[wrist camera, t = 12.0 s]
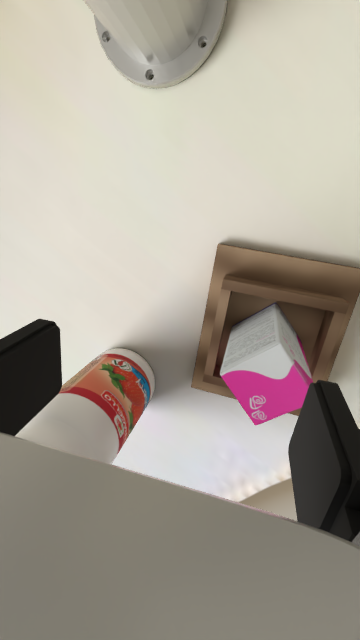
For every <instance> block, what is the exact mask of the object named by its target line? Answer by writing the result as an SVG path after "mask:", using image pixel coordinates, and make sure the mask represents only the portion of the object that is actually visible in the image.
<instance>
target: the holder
mask: <svg viewBox="0 0 360 640" xmlns="http://www.w3.org/2000/svg"><path fill="white" fill-rule="evenodd" d="M359 293H360V268H355V267H350V266H344V265H338V264H333V263H327V262H321V261H316V260H310V259H304V258H298V257H293V256H287V255H281V254H276V253H270V252H264V251H258V250H253V249H247V248H241V247H236V246H230V245H224V244H218V246H217V251H216V257H215V262H214V267H213V273H212V278H211V283H210V289H209V294H208V299H207V305H206V310H205V315H204V321H203V326H202V331H201V337H200V342H199V347H198V353H197V358H196V363H195V369H194V374H193V379H192V385H191V387H192V388H196V389H200V390H204V391H207V392H211V393H215V394H219V395H222V396H226V397H230V398H233V399H237V398H236V397H235V396H234V394H233V393H232V391H231V390H230V388H229V387H228V386H227V384H226V383H225V381H224V380H223V378H222V377H221V376H220V370H221V367H222V363H223V359H224V355H225V352H226V348H227V344H228V340H229V336H230V333H231V329H232V326H233V325H235V324H237V323H239V322H240V321H242V320H244V319H246V318H248V317H250V316H251V315H253V314H255V313H257V312H259V311H260V310H262V309H264V308H266V307H267V306H269V305H271V304H273V303H275V302H277V304H278V306H279V307H280V308H281V310H282V311H283V313H284V315H285V316H286V318H287V319H288V321H289V322H290V324H291V325H292V327H293V329H294V330H295V332H296V333H297V335H298V337H299V338H300V340H301V342H302V346H303V350H304V353H305V356H306V360H307V363H308V366H309V370H310V373H311V376H312V380H313V383H316V382H317V380H323V381H327V380H328V377H329V375H330V372H331V369H332V366H333V364H334V361H335V358H336V356H337V353H338V350H339V347H340V345H341V342H342V339H343V336H344V334H345V331H346V328H347V326H348V323H349V320H350V317H351V315H352V312H353V309H354V306H355V304H356V301H357V298H358V296H359ZM300 411H301V408H299V409H296V410H294V411H291V412H288V413H290V414H293V415H297V416H299V414H300Z"/></svg>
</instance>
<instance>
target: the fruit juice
mask: <svg viewBox="0 0 360 640" xmlns="http://www.w3.org/2000/svg"><path fill="white" fill-rule="evenodd" d="M154 388H155V379H154V374H153V371H152V369H151V367H150V366H149V364H148V363H147V362H146V360H145V359H144V358H142V357H141V356H140V355H139V354H137V353H135V352H133V351H131V350H128V349H123V348H115V349H110V350H107V351H105V352H103V353H101V354H100V355H98V356H97V357H96V358H95V359H94V360H92V361H91V362H90V363H89V364H88V365H86V366H85V367H84V368H83V369H82V370H80V371H79V372H78V373H77V374H76V375H75V376H73V377H72V378H71V379H70V380H69V381H67V382H66V383H65V384H64V385H63V386H62V387H61V390H60V392H59V394H58V395H57V396H56V397H55V398H54V399H53V400H52V401H50V402H49V403H48V404H47V405H46V406H45V407H44V408H43V409H42V410H41V411H40V412H39V413H38V414H37V415H36V416H35V417H34V418H33V419H32V420H31V421H30V422H29V423H28V424H27V425H26V426H25V427H24V428H23V429H22V430H21V431H20V432H19V433H18V434H16V435H15V437H19V438H22V439H26V440H29V441H33V442H36V443H40V444H43V445H47V446H50V447H53V448H57V449H60V450H64V451H67V452H70V453H74V454H77V455H81V456H84V457H88V458H91V459H94V460H98V461H101V462H104V463H108V464H112V463H113V461H114V460H115V458H116V456H117V454H118V453H119V451H120V449H121V448H122V446H123V444H124V443H125V441H126V439H127V438H128V436H129V434H130V433H131V431H132V430H133V428H134V426H135V425H136V423H137V421H138V420H139V418H140V416H141V415H142V413H143V411H144V410H145V408H146V406H147V405H148V403H149V402H150V400H151V398H152V395H153V393H154Z"/></svg>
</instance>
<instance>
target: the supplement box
mask: <svg viewBox="0 0 360 640" xmlns="http://www.w3.org/2000/svg"><path fill="white" fill-rule="evenodd" d="M220 376H221V377H222V378H223V380H224V381H225V383H226V384H227V386H228V387H229V388H230V390H231V391H232V393H233V394H234V396H235V397H236V398H237V400H238V401H239V403H240V404H241V406H242V407H243V409H244V410H245V411H246V413H247V414H248V416H249V417H250V419H251V420H252V421H253V423H254V424H255V425H258V424H261V423H264V422H266V421H269V420H271V419H273V418H276V417H278V416H281V415H283V414H286V413H288V412H291V411H294V410H296V409H299V408H302V405H303V402H304V400H305V397H306V394H307V391H308V388H309V385H310V383H312V382H313V380H312V376H311V373H310V370H309V366H308V363H307V360H306V356H305V353H304V350H303V346H302V342H301V340H300V338H299V337H298V335H297V333H296V332H295V330H294V329H293V327H292V325H291V324H290V322H289V321H288V319H287V318H286V316H285V315H284V313H283V311H282V310H281V308H280V307H279V306H278V304H277V302H275V303H273V304H271V305H269V306H267V307H266V308H264V309H262V310H260V311H259V312H257V313H255V314H253V315H251V316H250V317H248V318H246V319H244V320H242V321H240V322H239V323H237V324H235V325H233V326H232V329H231V333H230V336H229V340H228V344H227V348H226V352H225V355H224V359H223V363H222V367H221V370H220Z"/></svg>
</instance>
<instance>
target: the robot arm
mask: <svg viewBox="0 0 360 640" xmlns="http://www.w3.org/2000/svg"><path fill="white" fill-rule="evenodd" d="M83 1H84V2H85V3H86V4H87V6H88V7H89V8H90V10H91V11H92V12H93V13H94V18H95V24H96V30H97V34H98V37H99V40H100V43H101V46H102V48H103V50H104V52H105V54H106V56H107V58H108V59H109V60H110V62H111V63H112V64H113V66H114V67H115V68H116V69H117V70H118V71H119V72H120V73H121V74H122V75H123V76H124V77H125V78H127V79H128V80H130V81H131V82H132V83H135V84H137V85H140V86H142V87H146V88H153V89H157V88H166V87H169V86H172V85H175V84H178V83H180V82H181V81H183V80H185V79H186V78H188V77H189V76H191V75H192V74H193V73H194V72H195V71H196V70H197V69H199V68H200V66H201V65H202V64H203V63H204V61H205V60H206V59H207V58H208V56H209V55H210V53H211V51H212V49H213V48H214V46H215V44H216V42H217V40H218V37H219V35H220V32H221V29H222V27H223V23H224V18H225V14H226V9H227V0H83ZM203 44H206V46H205V47H204V48H202V46H203ZM152 76H154V77H153V79H152V80H150V79H151V77H152ZM61 387H62V372H61V346H60V329H59V327H58V326H57V325H56V323H55V322H53V321H48V320H43V319H37V320H36V321H34V322H32V323H30V324H28V325H26V326H24V327H23V328H21V329H19V330H17V331H15V332H13V333H11V334H9V335H8V336H6V337H4V338H2V339H0V640H360V429H358V427H357V425H356V423H355V420H354V418H353V416H352V414H351V412H350V410H349V407H348V405H347V403H346V401H345V399H344V397H343V394H342V392H341V390H340V388H339V386H338V384H337V383H332V382H328V381H323V380H317V382H316V383H313V382H312V383H310V385H309V388H308V391H307V394H306V397H305V400H304V402H303V405H302V408H301V411H300V414H299V417H298V420H297V423H296V426H295V429H294V432H293V435H292V437H291V440H290V444H289V451H288V453H289V461H290V468H291V476H292V483H293V490H294V498H295V505H296V512H297V520H298V522H297V521H294V520H291V519H288V518H285V517H283V516H280V515H277V514H274V513H271V512H267V511H264V510H261V509H257V508H254V507H251V506H248V505H244V504H241V503H238V502H235V501H231V500H228V499H225V498H221V497H218V496H215V495H211V494H208V493H205V492H202V491H198V490H195V489H192V488H188V487H185V486H182V485H178V484H175V483H172V482H168V481H165V480H162V479H158V478H155V477H152V476H148V475H145V474H142V473H138V472H135V471H132V470H128V469H125V468H121V467H118V466H115V465H111V464H108V463H104V462H101V461H98V460H94V459H91V458H88V457H84V456H81V455H77V454H74V453H70V452H67V451H64V450H60V449H57V448H53V447H50V446H47V445H43V444H40V443H36V442H33V441H29V440H26V439H22V438H19V437H15V435H16V434H18V433H19V432H20V431H21V430H22V429H23V428H24V427H25V426H26V425H27V424H28V423H29V422H30V421H31V420H32V419H33V418H34V417H35V416H36V415H37V414H38V413H39V412H40V411H41V410H42V409H43V408H44V407H45V406H46V405H47V404H48V403H49V402H50V401H52V400H53V399H54V398H55V397H56V396H57V395H58V394H59V392H60V390H61Z"/></svg>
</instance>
